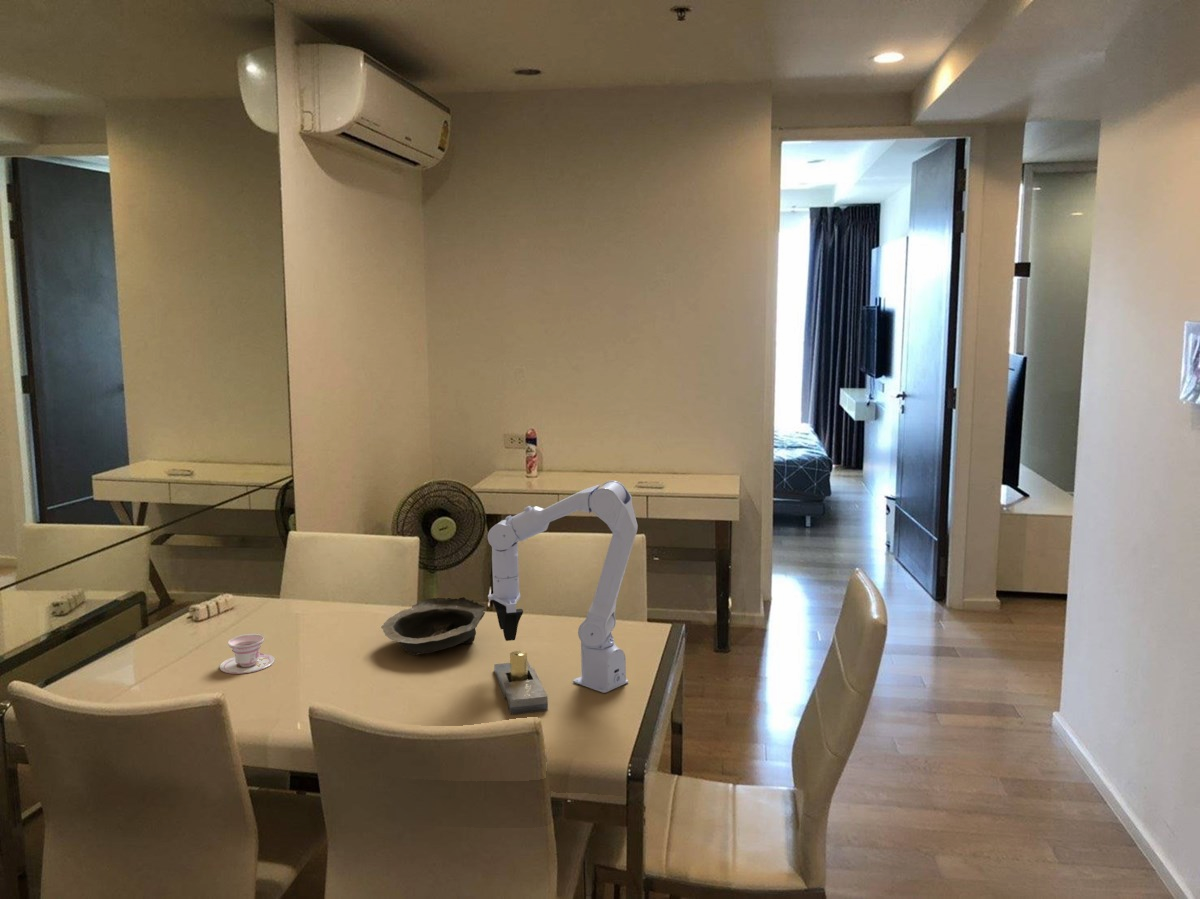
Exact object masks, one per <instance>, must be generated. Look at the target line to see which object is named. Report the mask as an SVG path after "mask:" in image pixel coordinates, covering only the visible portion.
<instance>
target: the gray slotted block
mask: <svg viewBox="0 0 1200 899" xmlns="http://www.w3.org/2000/svg"><path fill="white" fill-rule="evenodd" d="M493 666H494V670H493V672H494V673H495V675H496V680H497V681H498V684H499V686H500V690H501V692H502V695H503V698H504V700H507V702H508V704H507V706H508V708H507V709H508V711H509V714H510V715H511V716H513V715H521V714H527V713H528V714H529V713H536V712H537V713H538V712H546V711H549V708H548V707H549V706H548V703H549V702H548V694H547V692H546V691H545V688H544V686H543V684H542V682H541V680H540V678H539V676H538V674H537V672H536V669H535V668H534V667H533V666H532V667H531V665H530V663H529V661H528V660H527V672H528V680H524V681H515V682H511V668H510V662H506V663H505V662H504V663H496V664H495V663H494V665H493Z"/></svg>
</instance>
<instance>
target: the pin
mask: <svg viewBox="0 0 1200 899" xmlns="http://www.w3.org/2000/svg"><path fill="white" fill-rule="evenodd" d="M509 660H510V661H509V663H510V668H511V682H515V681H524V680H528V672H527V661H528V653H527V652H526V651H524V650H515V651H512V652H511V653H509Z"/></svg>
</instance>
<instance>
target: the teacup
mask: <svg viewBox="0 0 1200 899" xmlns="http://www.w3.org/2000/svg"><path fill="white" fill-rule="evenodd" d="M264 640H265V636H264V635H263V634H260V633H247V634H246V633H245V634H240V635H237V636H235V637H232V638H231V639H229V640H228V641H227V645H228V647H229V648H231V651H232V652H233V654H234V656H233V657H230V658H227V659H226V660H224V661H223V662H222V663H220V665H219V668H218V669H219V670H220V671H221V672H223V673H225V674H230V675H231V674H232V675H235V674H239V675H242V674H248V673H249V674H251V673H255V672H259V671H261V670H264V669H267V668H269V667H271V666H272V665H273V664H274V663H275V657H274V656H273V655H271V654H268V653H264V652H263V653H260V649H261V647H262V644H263V642H264ZM263 658H267V659H263ZM259 659H263V660H262V661H261V660H259ZM268 662H269V663H268ZM256 663H257V664H256ZM263 663H266V664H265V665H264V664H263ZM259 664H261V665H260V667H258V666H257V665H259ZM237 665H239V666H240V667H237ZM246 670H249V671H246ZM244 671H246V672H244Z"/></svg>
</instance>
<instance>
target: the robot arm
mask: <svg viewBox="0 0 1200 899" xmlns="http://www.w3.org/2000/svg"><path fill="white" fill-rule="evenodd" d="M632 497H633V496H632V494H631V493H630V491H628V489H627V488H626V487H625V485H624V484H623V483H621V482H620V481H617V480H608V481H606V482H604V483H603V484H602V485H601V484H597V485H593V486H590V487H588V488H585V489H583V490H580V491H578V492H576V493H574V494H572V495H570V496H567V497H566V498H564V499H561V500H559V501H557V502H555V503H553V504H551V505H549V506H547V507H545V508H544V507H540V506H537V505H536V506H533V507H532V506H531V505H528V506H526V507H524V508H523V511H522V512H519V513H517V514H516V515H511V514H510V515H508V516H506V517H505V519H502V520H500V521H499V522H498V523H496V524H494V525H493V526H492V527H491V528H490V529H489V531H488V533H487V541H488V544H489V545H490V546H491V564H492V567H491V568H492V570H491V571H492V591H493V593H492V594H491V593H490V594H489V593H488V595H487V599H488V600H489V601H491V603H492V604H493V607H494V608H495V613H496V617H497V622H498V625H499V628H500V630H502V632H503V636H504V640H505V642H510V641H515V640H516V636H517V633H518V626H519V623H520V621H521V618H522V615H524V614H523V613H524V610H523V608H517V603H518V601H519V600H520V599H521V592H520V577H519V576H520V573H519V572H520V570H519V546H518V543H519V542H524V541H525V540H528V539H530V538H532V537H535V536H536V535H539V534H541V533H543V532H546V531H547V530H548V528H549V525H550V523H551V522H554V521H556V520H558V519H561V518H564V517H565V516H569V515H570V514H572V513H577V512H578V511H580V512H583V513H586V514H591V513H593V514H594V515H595V516H597V518H599V519H600V520H601V521H603V522H604V523H605V524H606V525H607V527H608V528H609V530H610V531H611V532H612V535H611V539H610V541H609V546H608V549H607V551H606V555H605V559H604V563H603V566H602V570H601V573H600V576H599V580H598V583H597V586H596V591H595V593H594V597H593V599H592V603H591V605H590V607H589V609H588V611H587V614H586V618H585V619H584V620H583V621H582V622H581V623H580V625H579V626H578V631H577V635H578V639H579V641H580V656H581V657H580V659H581V660H580V663H581V665H580V666H581V676H579V677H576V678H574V679H572V682H573V683H574V684H576V685H577V684H578V685H580V686H583V687H586V688H588V689H591V690H594V691H597V692H600V693H602V694H605V693H608V692H610V691H612V690H613V691H614V690H615V689H618V688H619V687H621V686H624V685H625V684H628V683H629V680H628V679H626V678H627V677H626V675H627V674H626V673H627V672H626V671H627V669H626V667H627V666H626V654H625V652H624V650H623V649H621V648H620V647H618V646H617V645H616V643H615V639H614V636H613V634H612V631H614V628H615V627H616V624H617V622H616V621H617V620H616V616H615V613H616V609H617V600H618V598H619V597H618V596H619V592H620V590H621V587H622V583H623V580H624V576H625V572H626V569H627V566H628V564H629V563H628V562H629V559H630V556H631V553H632V550H633V546H634V543H635V541H636V540H635V539H636V536H637V532H638V529H639V528H638V527H639V526H638V522H637V519H636V518H637V517H636V514H635V510H634V509H635V508H634V506H633V500H632V499H633V498H632Z"/></svg>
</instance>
